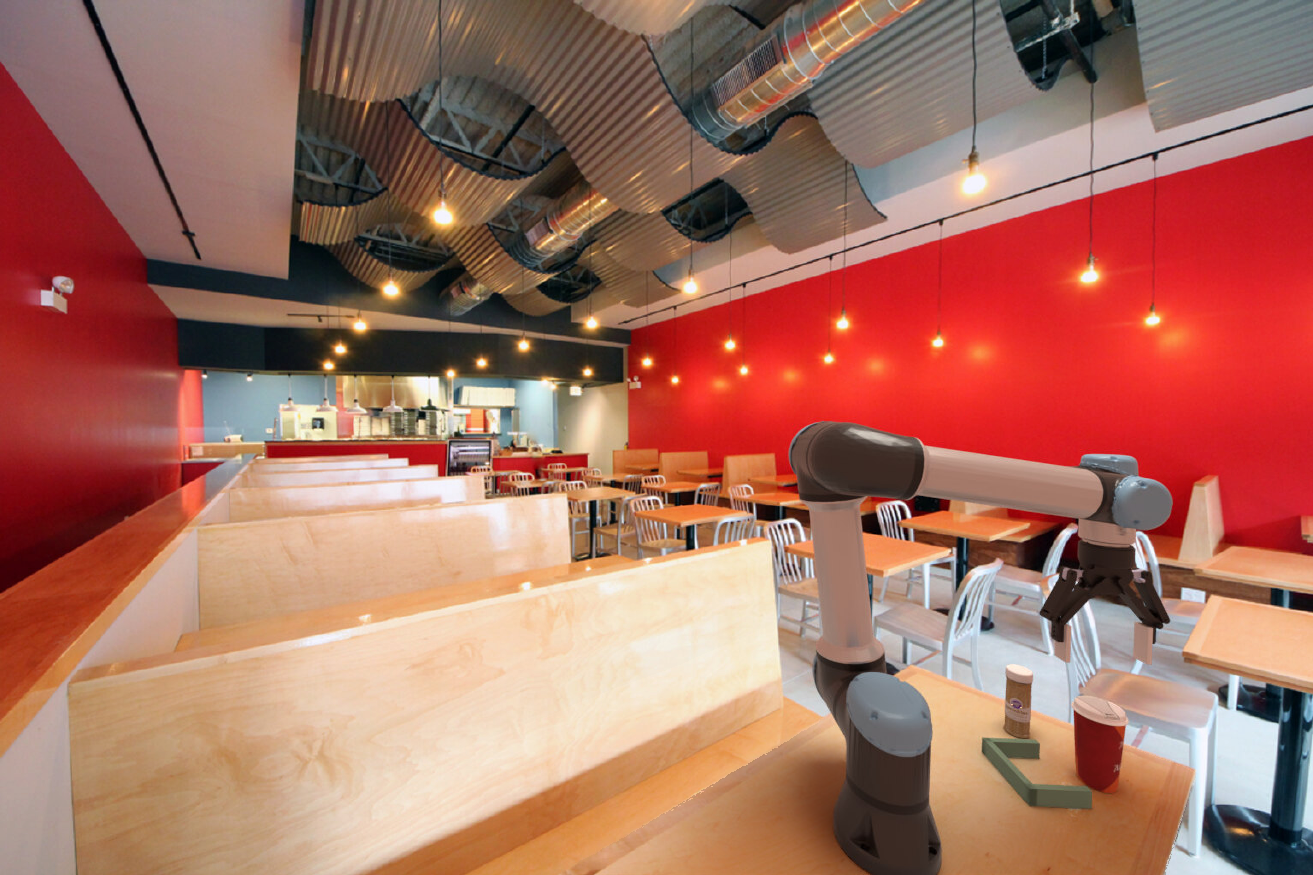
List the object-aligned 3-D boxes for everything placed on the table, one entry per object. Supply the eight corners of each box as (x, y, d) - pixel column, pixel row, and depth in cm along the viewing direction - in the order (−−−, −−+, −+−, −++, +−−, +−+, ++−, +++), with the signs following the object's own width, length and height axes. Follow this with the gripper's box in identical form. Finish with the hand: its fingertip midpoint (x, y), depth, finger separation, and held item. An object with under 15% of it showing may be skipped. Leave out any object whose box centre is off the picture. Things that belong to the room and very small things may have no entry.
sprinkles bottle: (1004, 734, 102) (1007, 670, 102) (1002, 722, 106) (1004, 661, 106) (1032, 741, 100) (1034, 676, 99) (1029, 729, 104) (1031, 666, 103)
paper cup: (1137, 800, 85) (1141, 720, 84) (1085, 794, 86) (1088, 715, 86) (1105, 769, 92) (1108, 695, 92) (1058, 763, 94) (1061, 690, 93)
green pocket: (1029, 805, 83) (1030, 788, 83) (981, 752, 97) (982, 737, 97) (1091, 808, 83) (1092, 791, 83) (1035, 754, 96) (1035, 739, 96)
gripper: (1048, 546, 84) (1044, 668, 85) (1203, 548, 83) (1198, 672, 84) (1018, 536, 92) (1015, 648, 93) (1160, 537, 90) (1155, 651, 91)
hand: (1102, 660), depth 88 cm, fingers open, 13 cm apart
